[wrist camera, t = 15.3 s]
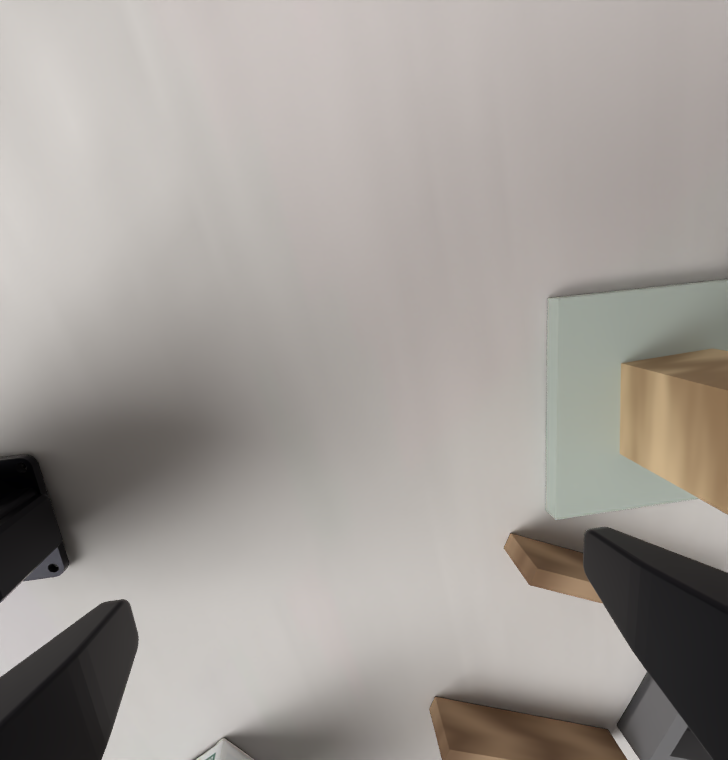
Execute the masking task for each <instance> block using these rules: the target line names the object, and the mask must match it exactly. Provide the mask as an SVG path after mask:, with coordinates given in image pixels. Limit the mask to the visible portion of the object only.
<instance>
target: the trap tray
mask: <svg viewBox="0 0 728 760" xmlns="http://www.w3.org/2000/svg"><path fill="white" fill-rule="evenodd" d="M617 726H618V728H619V729H620V731H621V732H622V734H623V735H624V737H625V738H626V740H627V741H628V743H629V744H630V746H631V747H632V749H633V750H634V752H635V753H636V755H637V756H638V758H639V759H640V760H713V759H712V758H711V757H710V755H709V754H708V753H707V751H706V750H705V749H704V747H703V746H702V744H701V743H700V742H699V740H698V739H697V738H696V736H695V735H694V734H693V732H692V731H691V730H690V728H689V727H688V726H687V724H686V723H685V722H684V720H683V719H682V717H681V716H680V715H679V713H678V712H677V711H676V709H675V708H674V707H673V705H672V704H671V703H670V701H669V700H668V699H667V697H666V696H665V695H664V693H663V692H662V691H661V689H660V688H659V686H658V685H657V684H656V682H655V681H654V680H653V678H652V677H651V676H650V674H649V673H648V672H647V674H646V676H645V677H644V679H643V681H642V683H641V684H640V686H639V688H638V690H637V691H636V693H635V695H634V697H633V698H632V700H631V702H630V704H629V705H628V707H627V709H626V711H625V712H624V714H623V716H622V718H621V719H620V721H619V723H618V724H617Z"/></svg>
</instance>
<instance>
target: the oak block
mask: <svg viewBox="0 0 728 760" xmlns="http://www.w3.org/2000/svg"><path fill="white" fill-rule="evenodd" d="M620 454H621V455H623V456H624V457H626V458H628V459H630V460H632V461H633V462H635V463H637V464H639V465H640V466H642V467H644V468H646V469H648V470H649V471H651V472H653V473H655V474H656V475H658V476H660V477H662V478H664V479H665V480H667V481H669V482H671V483H672V484H674V485H676V486H678V487H680V488H681V489H683V490H685V491H687V492H688V493H690V494H692V495H694V496H696V497H697V498H699V499H701V500H703V501H704V502H706V503H708V504H710V505H712V506H713V507H715V508H717V509H719V510H721V511H722V512H724V513H726V514H728V351H725V350H719V349H713V348H712V349H706V350H700V351H694V352H687V353H681V354H675V355H669V356H663V357H656V358H650V359H644V360H638V361H632V362H625V363H621V393H620Z"/></svg>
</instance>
